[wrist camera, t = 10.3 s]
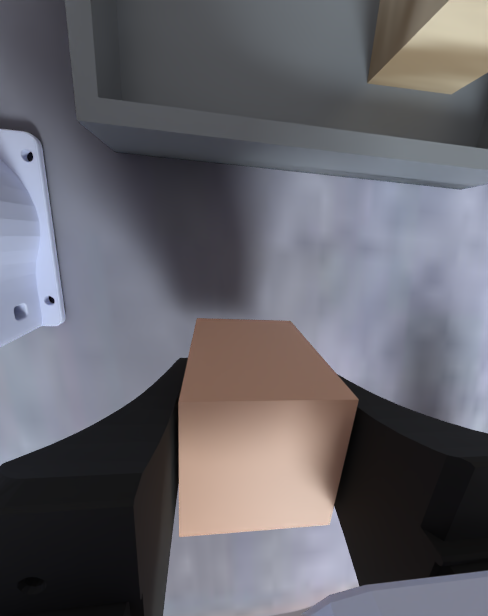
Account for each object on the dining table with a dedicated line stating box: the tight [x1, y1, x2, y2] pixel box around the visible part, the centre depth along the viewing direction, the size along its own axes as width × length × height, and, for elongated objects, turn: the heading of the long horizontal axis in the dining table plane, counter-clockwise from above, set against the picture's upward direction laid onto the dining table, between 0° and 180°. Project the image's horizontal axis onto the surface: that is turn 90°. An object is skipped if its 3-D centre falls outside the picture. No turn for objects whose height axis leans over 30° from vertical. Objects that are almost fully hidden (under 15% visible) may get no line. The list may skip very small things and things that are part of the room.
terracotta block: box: [178, 318, 359, 537], centre depth 9 cm, size 4×4×6 cm
